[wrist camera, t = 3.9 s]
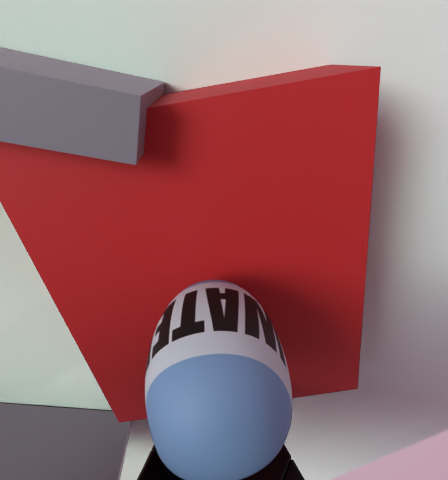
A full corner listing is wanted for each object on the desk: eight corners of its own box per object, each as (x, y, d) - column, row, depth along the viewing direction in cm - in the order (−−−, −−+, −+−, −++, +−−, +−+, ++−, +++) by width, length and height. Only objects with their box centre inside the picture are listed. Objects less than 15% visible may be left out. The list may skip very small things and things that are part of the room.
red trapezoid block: (42, 114, 8) (-358, 248, 2) (324, 64, 8) (644, 77, 2) (137, 346, 12) (75, 603, 6) (325, 318, 11) (435, 560, 6)
